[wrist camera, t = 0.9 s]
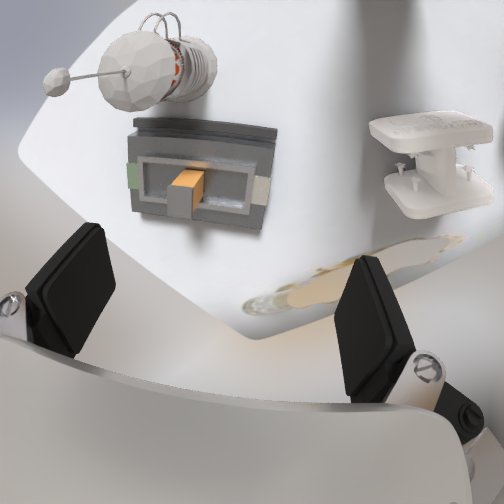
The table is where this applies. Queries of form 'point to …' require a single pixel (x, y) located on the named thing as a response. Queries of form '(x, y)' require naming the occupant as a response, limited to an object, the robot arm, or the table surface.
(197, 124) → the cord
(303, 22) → the table surface
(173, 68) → the french press
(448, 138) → the cable organizer
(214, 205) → the panel
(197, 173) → the lever
